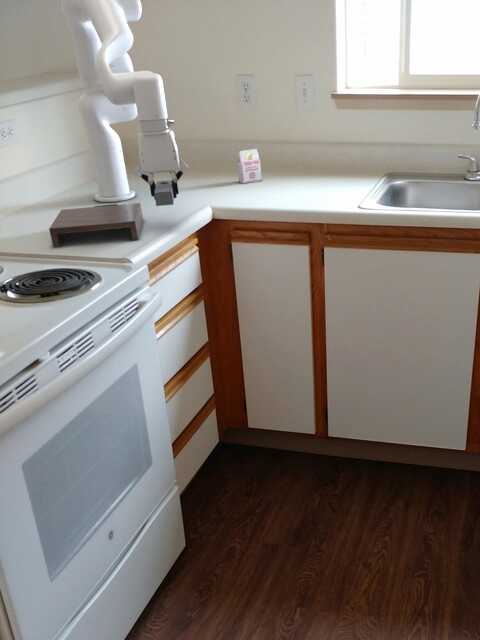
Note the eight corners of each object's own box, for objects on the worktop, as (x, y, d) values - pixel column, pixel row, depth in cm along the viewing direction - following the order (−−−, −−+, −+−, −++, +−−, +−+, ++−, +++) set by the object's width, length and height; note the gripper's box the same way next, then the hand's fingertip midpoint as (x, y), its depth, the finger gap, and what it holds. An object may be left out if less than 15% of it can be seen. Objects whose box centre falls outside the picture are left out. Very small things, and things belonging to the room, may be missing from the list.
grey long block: (158, 194, 211) (156, 180, 210) (175, 192, 212) (173, 179, 210) (156, 206, 199) (153, 191, 198) (173, 204, 200) (171, 190, 198)
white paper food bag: (239, 181, 255) (235, 150, 250) (257, 178, 257) (254, 147, 252) (242, 183, 252) (239, 152, 247) (261, 180, 254) (258, 149, 249)
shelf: (65, 227, 215) (61, 209, 213) (143, 220, 217) (140, 202, 215) (53, 247, 198) (48, 228, 196) (138, 240, 200) (134, 221, 198)
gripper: (187, 121, 200) (197, 192, 209) (122, 126, 199) (135, 197, 208) (186, 125, 194) (196, 198, 203) (120, 131, 192) (133, 203, 201)
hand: (165, 197), depth 205 cm, fingers closed on grey long block, 4 cm apart
